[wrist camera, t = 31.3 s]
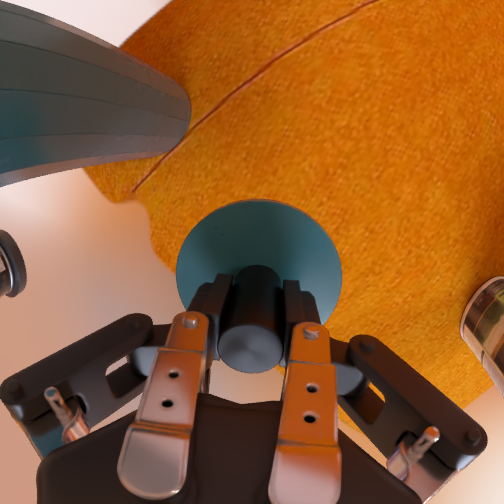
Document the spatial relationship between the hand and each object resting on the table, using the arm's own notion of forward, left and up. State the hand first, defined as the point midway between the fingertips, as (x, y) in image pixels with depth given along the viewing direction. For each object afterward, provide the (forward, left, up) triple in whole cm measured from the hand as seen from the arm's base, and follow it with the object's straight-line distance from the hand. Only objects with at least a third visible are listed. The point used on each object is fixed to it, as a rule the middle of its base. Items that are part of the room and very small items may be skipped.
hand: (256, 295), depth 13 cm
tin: (-11, +10, -12) cm, 19 cm away
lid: (0, 0, -1) cm, 1 cm away
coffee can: (+30, -8, -12) cm, 33 cm away
